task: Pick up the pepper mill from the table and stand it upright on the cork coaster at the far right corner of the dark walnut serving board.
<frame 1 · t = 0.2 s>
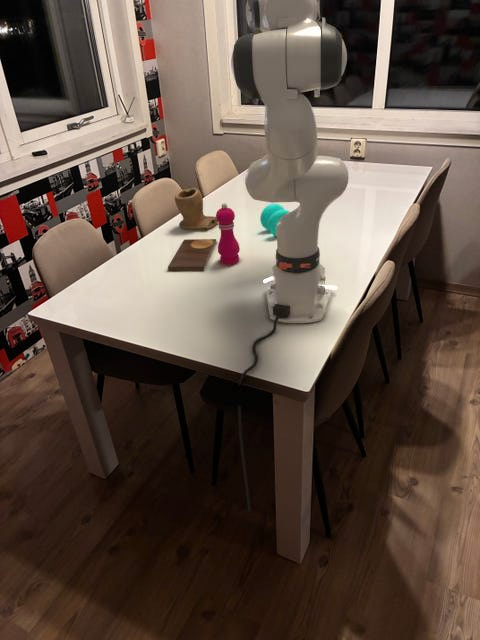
hand: (300, 97, 141), 48 cm above the table, tool pointing down, fingers open, 8 cm apart
pepper mill: (230, 261, 164), on the table
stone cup: (197, 227, 192), on the table
serving board: (193, 256, 170), on the table
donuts: (277, 233, 181), on the table
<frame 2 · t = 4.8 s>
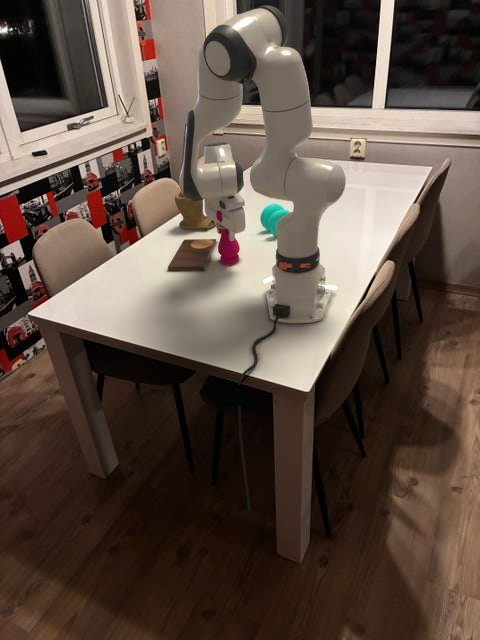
hand: (226, 236, 160), 9 cm above the table, tool pointing down, fingers open, 5 cm apart
pepper mill: (230, 261, 164), on the table, touching arm, gripper
everything else where it was.
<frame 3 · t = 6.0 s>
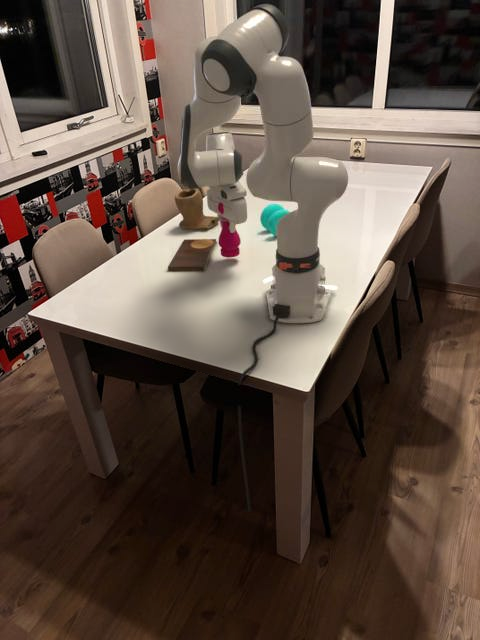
hand: (228, 229, 158), 11 cm above the table, tool pointing down, fingers closed on pepper mill, 4 cm apart
pepper mill: (230, 254, 162), point 3 cm above the table, touching gripper
everything else where it was.
when the fingers open (10 cm above the table, at t = 12.2 s): pepper mill stays where it is, point 2 cm above the table.
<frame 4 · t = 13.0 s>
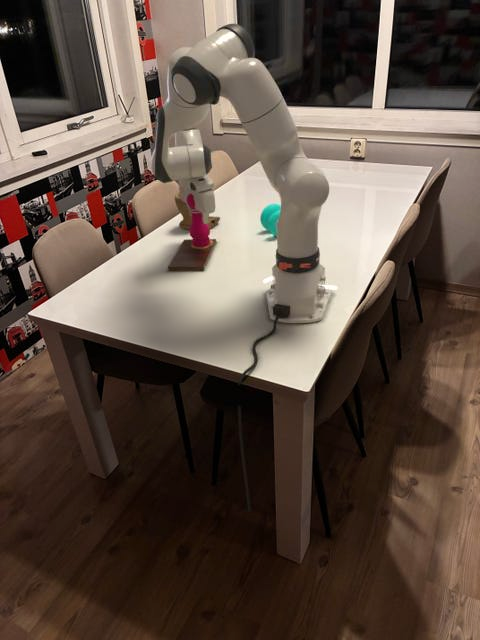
hand: (199, 219, 169), 11 cm above the table, tool pointing down, fingers open, 8 cm apart
pepper mill: (201, 244, 174), point 2 cm above the table
everything else where it was.
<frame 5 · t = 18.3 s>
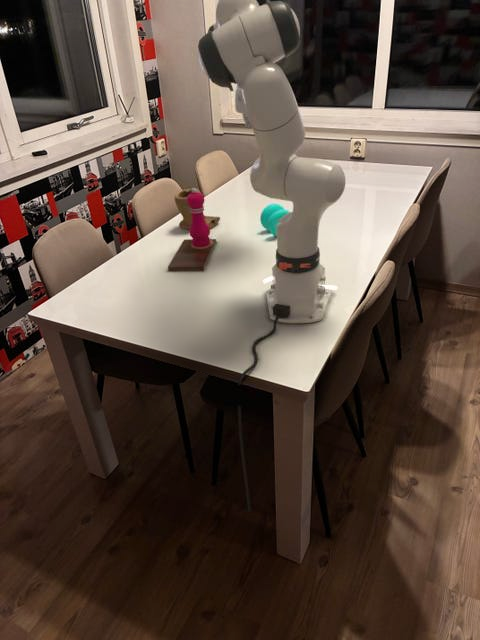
hand: (256, 130, 159), 37 cm above the table, tool pointing down, fingers open, 8 cm apart
pepper mill: (201, 244, 174), point 2 cm above the table, touching serving board
everything else where it was.
at the end: pepper mill 0.2 cm from the target spot on the serving board, point 1.6 cm above the serving board's base; pepper mill tilted 0°; the gripper is holding nothing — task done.
